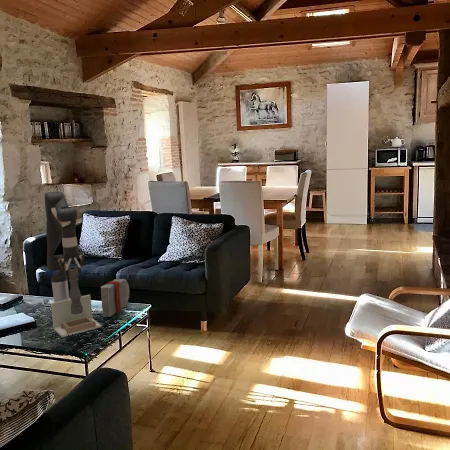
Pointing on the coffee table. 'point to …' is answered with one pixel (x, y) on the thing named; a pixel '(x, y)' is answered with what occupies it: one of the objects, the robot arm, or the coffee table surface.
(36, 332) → the coffee table surface
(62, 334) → the board
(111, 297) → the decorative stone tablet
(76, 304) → the candle holder
